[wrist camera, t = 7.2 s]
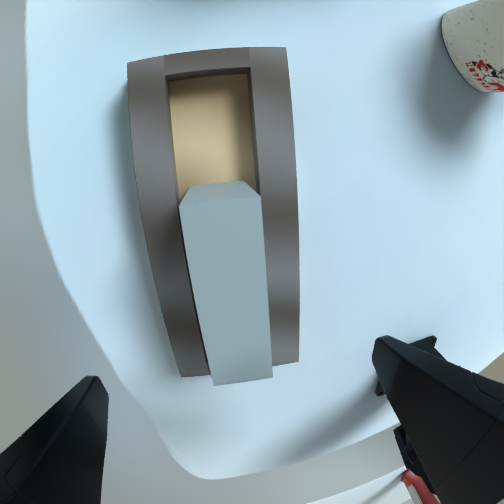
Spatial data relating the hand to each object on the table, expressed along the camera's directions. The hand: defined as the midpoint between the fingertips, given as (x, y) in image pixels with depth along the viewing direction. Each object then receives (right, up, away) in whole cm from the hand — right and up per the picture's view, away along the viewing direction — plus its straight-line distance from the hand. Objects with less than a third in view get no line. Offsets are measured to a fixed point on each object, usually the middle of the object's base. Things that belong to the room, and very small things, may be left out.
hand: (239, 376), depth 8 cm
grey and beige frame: (-2, +6, +10) cm, 11 cm away
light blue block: (-1, +3, +9) cm, 10 cm away
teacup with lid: (+22, +23, +7) cm, 32 cm away
